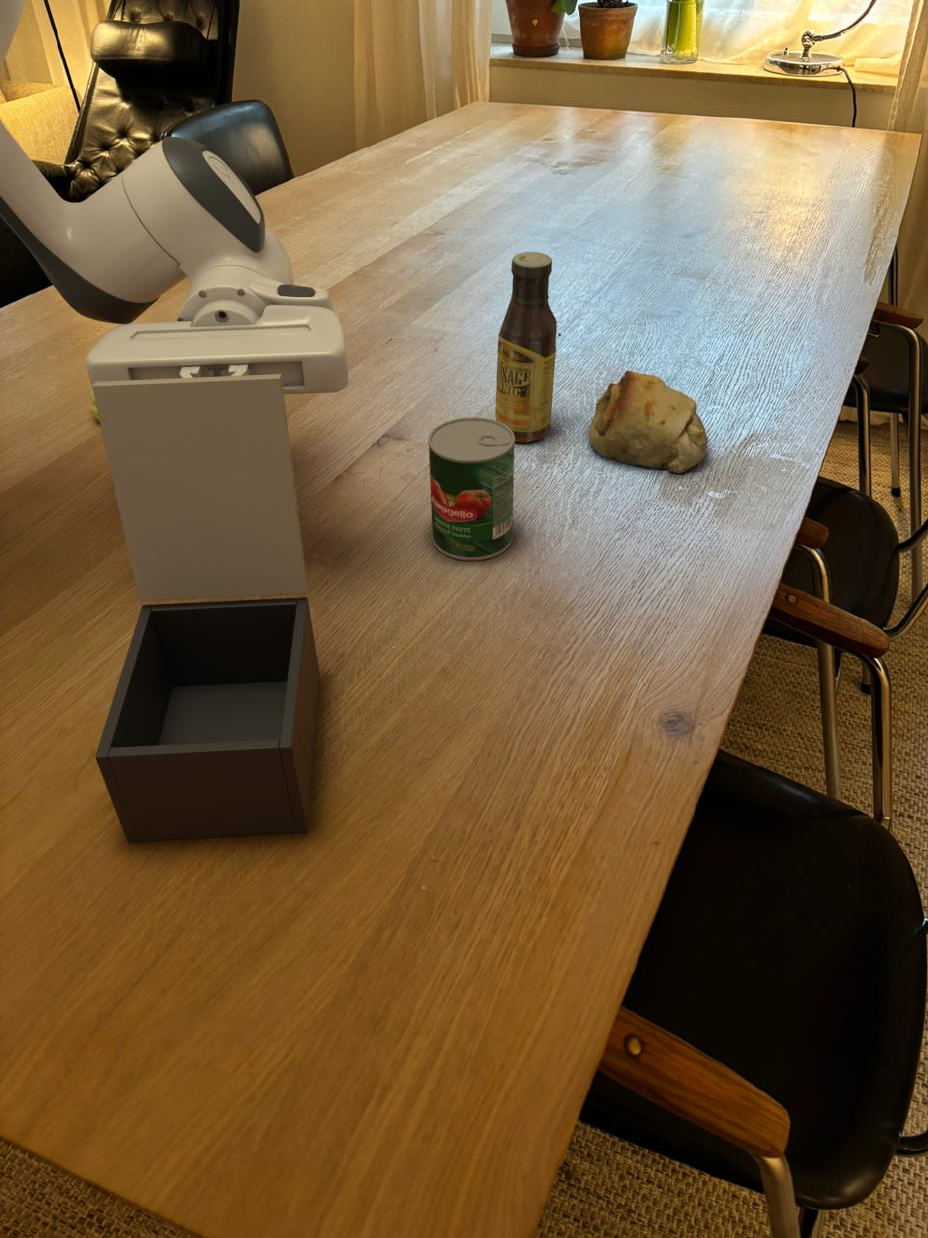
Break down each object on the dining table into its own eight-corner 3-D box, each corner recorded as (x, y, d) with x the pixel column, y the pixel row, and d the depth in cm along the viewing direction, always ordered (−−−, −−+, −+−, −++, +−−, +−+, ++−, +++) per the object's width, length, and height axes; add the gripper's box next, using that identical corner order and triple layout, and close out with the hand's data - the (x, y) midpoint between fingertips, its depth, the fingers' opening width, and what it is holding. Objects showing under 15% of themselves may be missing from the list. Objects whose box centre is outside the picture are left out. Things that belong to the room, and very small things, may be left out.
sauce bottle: (484, 430, 113) (483, 255, 100) (524, 412, 116) (528, 240, 103) (523, 452, 109) (527, 273, 96) (564, 433, 112) (573, 257, 99)
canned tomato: (426, 558, 94) (420, 457, 87) (438, 512, 100) (434, 414, 93) (509, 564, 93) (510, 462, 86) (517, 517, 99) (519, 418, 92)
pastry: (565, 427, 113) (569, 361, 108) (662, 406, 116) (670, 341, 111) (624, 489, 103) (631, 420, 98) (728, 464, 106) (740, 396, 101)
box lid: (279, 377, 67) (281, 373, 68) (91, 385, 67) (95, 381, 67) (306, 593, 75) (307, 587, 76) (139, 602, 75) (142, 595, 76)
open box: (307, 832, 70) (291, 747, 64) (127, 842, 69) (94, 757, 64) (320, 679, 82) (307, 596, 76) (166, 687, 81) (142, 604, 76)
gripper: (99, 297, 82) (55, 372, 71) (347, 288, 83) (340, 361, 72) (117, 368, 86) (78, 449, 75) (353, 359, 87) (348, 438, 76)
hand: (208, 406), depth 74 cm, fingers closed
